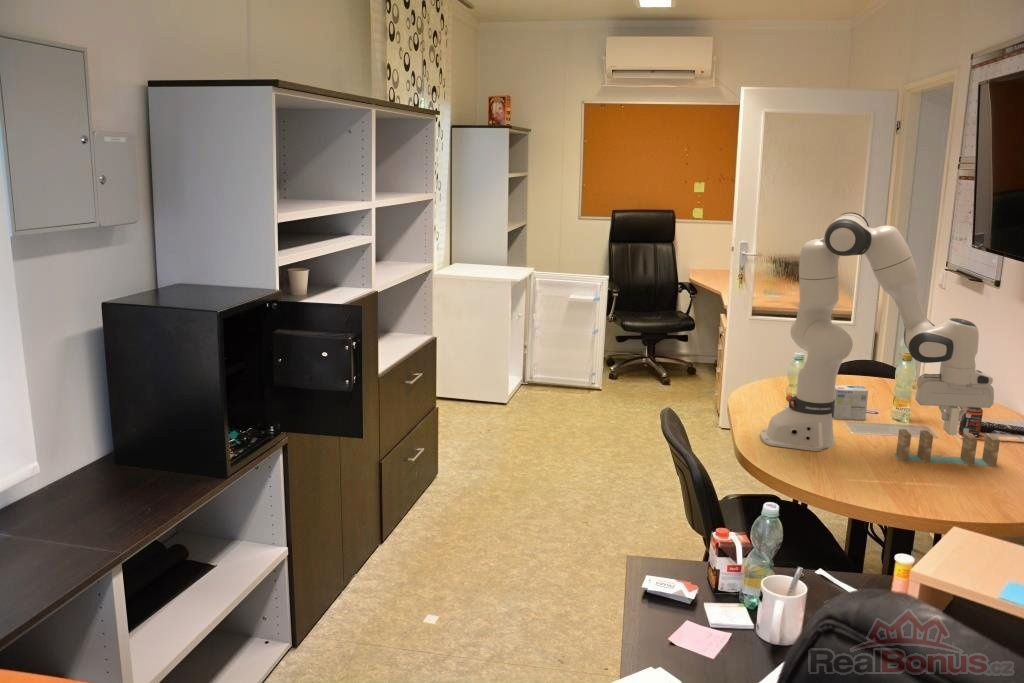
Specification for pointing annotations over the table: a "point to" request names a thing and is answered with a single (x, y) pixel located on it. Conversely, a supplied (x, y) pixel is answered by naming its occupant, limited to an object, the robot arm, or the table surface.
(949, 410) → the domino
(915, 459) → the felt runner
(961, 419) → the robot arm
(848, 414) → the light bulb box
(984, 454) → the domino
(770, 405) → the table surface
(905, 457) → the domino
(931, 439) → the domino
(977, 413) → the supplement bottle
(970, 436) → the domino
